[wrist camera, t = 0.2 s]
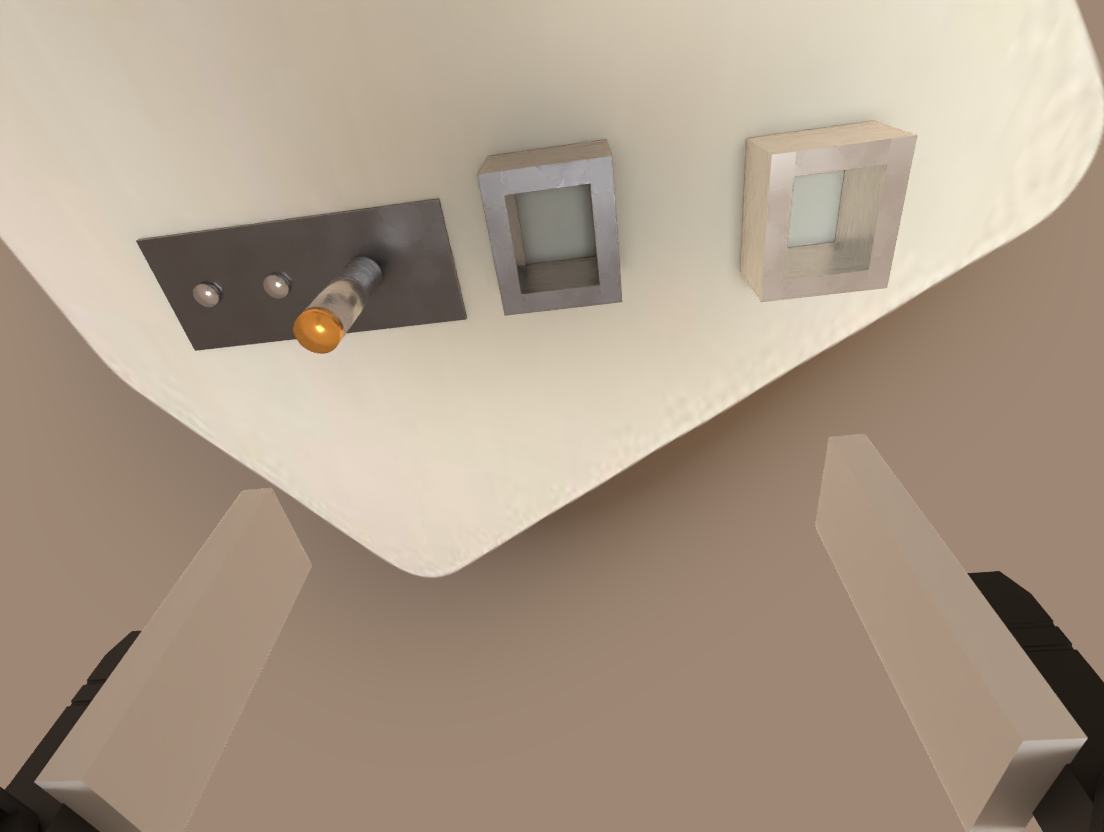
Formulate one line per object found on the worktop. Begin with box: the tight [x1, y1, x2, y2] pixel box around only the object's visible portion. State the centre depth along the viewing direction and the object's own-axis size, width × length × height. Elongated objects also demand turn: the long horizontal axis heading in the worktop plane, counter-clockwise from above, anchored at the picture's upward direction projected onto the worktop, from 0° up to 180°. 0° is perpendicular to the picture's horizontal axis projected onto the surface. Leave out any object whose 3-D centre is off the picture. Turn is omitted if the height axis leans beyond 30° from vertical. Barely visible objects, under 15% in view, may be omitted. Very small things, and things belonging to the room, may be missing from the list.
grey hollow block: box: [477, 139, 622, 315], centre depth 34 cm, size 8×7×5 cm
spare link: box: [740, 121, 917, 302], centre depth 33 cm, size 8×7×5 cm
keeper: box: [136, 199, 467, 354], centre depth 35 cm, size 8×20×9 cm, turn 98°
